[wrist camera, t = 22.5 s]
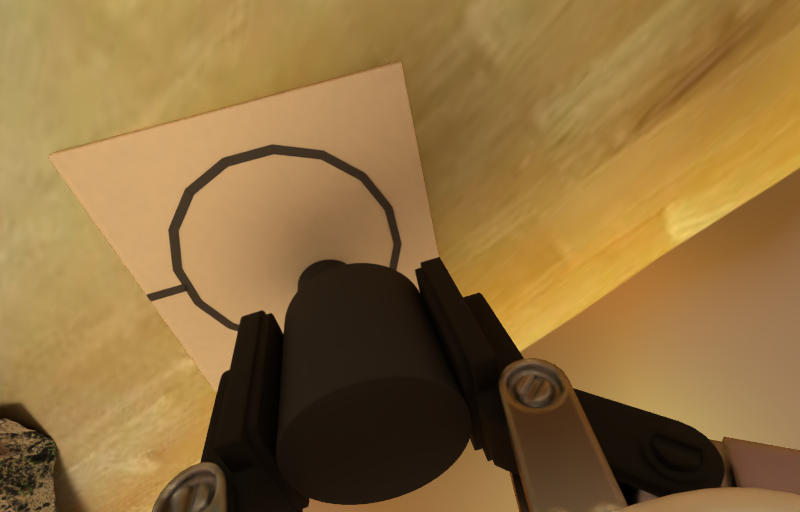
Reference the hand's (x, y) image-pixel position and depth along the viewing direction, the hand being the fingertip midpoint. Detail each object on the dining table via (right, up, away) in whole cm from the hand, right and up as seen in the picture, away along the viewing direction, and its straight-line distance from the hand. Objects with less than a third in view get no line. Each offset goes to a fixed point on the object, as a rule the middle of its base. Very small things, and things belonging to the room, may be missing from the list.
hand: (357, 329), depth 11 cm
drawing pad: (-6, +2, +14) cm, 15 cm away
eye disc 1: (0, 0, 0) cm, 0 cm away
